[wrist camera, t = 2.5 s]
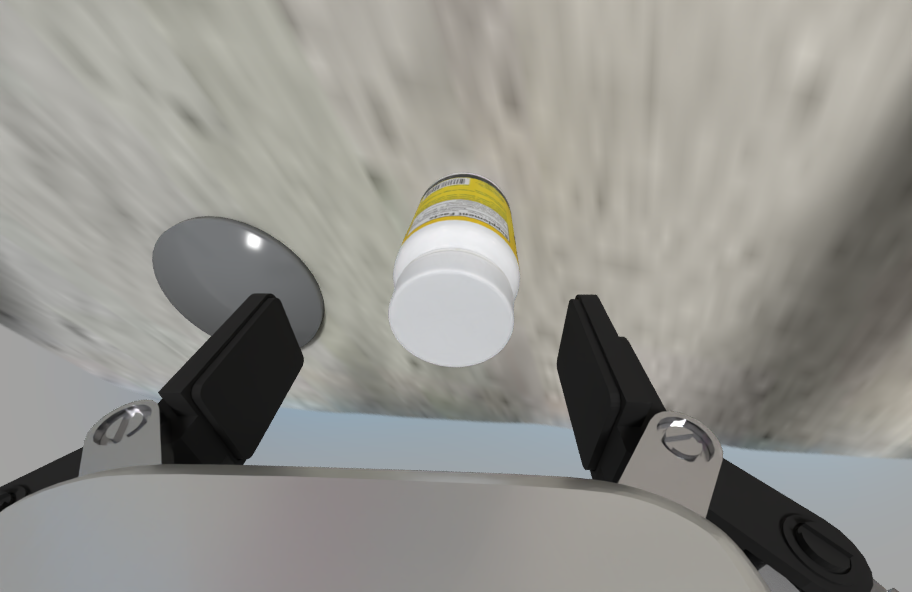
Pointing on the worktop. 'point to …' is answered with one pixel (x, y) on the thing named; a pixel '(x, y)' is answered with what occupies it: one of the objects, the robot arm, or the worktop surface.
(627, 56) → the worktop surface
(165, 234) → the grey flat disc
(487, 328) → the supplement bottle
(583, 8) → the worktop surface
